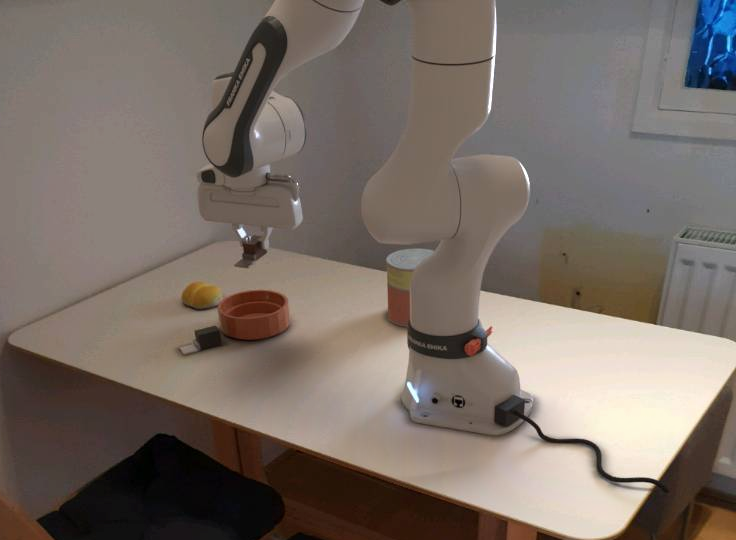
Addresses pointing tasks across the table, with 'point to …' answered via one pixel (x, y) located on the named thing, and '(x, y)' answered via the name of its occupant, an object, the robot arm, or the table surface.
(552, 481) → the table surface
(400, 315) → the canned food
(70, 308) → the table surface
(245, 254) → the block
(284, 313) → the bowl
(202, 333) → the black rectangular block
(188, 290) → the bread roll
